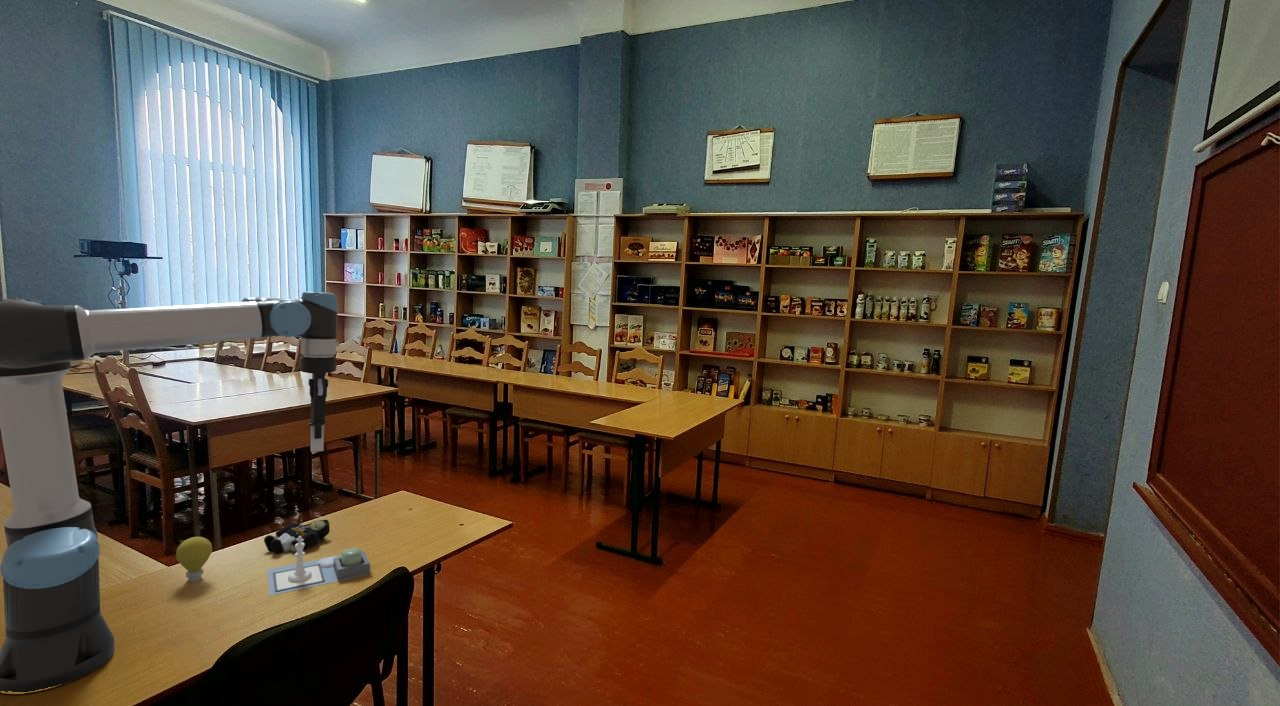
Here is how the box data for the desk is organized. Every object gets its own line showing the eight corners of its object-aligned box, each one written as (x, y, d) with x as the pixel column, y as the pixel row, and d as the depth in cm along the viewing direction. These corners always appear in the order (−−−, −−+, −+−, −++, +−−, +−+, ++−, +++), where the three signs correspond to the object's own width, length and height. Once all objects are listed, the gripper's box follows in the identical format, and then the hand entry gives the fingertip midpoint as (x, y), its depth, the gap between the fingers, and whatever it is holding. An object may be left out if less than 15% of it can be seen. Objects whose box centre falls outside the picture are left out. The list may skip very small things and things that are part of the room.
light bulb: (215, 579, 132) (215, 538, 131) (179, 589, 127) (178, 546, 126) (209, 569, 137) (208, 529, 136) (173, 578, 132) (173, 537, 131)
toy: (255, 533, 148) (311, 503, 160) (264, 557, 150) (319, 525, 162) (278, 547, 141) (335, 514, 153) (287, 572, 144) (343, 538, 155)
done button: (342, 575, 135) (343, 557, 135) (340, 567, 139) (340, 550, 139) (363, 571, 138) (363, 553, 138) (360, 563, 141) (360, 546, 141)
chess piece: (300, 583, 131) (300, 542, 130) (282, 580, 132) (282, 539, 131) (316, 573, 136) (316, 533, 135) (299, 570, 137) (299, 530, 136)
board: (269, 599, 125) (269, 584, 125) (267, 572, 137) (267, 559, 136) (370, 577, 137) (370, 564, 137) (360, 554, 149) (360, 542, 148)
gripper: (339, 358, 134) (337, 455, 136) (333, 353, 145) (331, 443, 147) (302, 358, 130) (300, 458, 132) (299, 352, 141) (297, 445, 142)
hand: (317, 450), depth 139 cm, fingers closed
